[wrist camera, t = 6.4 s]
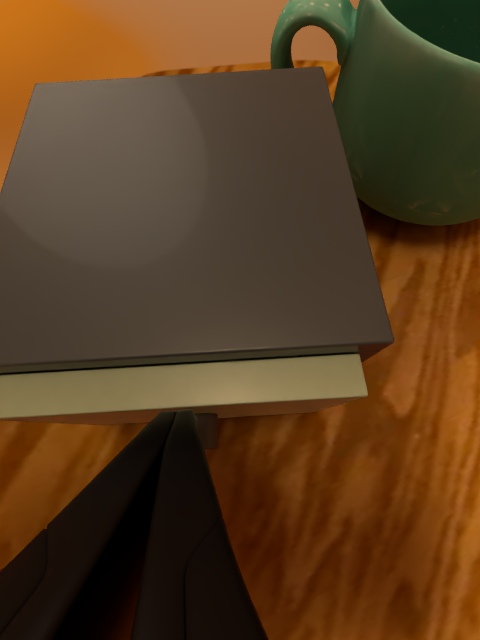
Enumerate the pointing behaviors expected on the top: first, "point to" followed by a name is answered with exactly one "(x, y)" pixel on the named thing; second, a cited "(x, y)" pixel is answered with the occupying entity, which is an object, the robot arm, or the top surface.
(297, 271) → the cabinet
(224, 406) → the drawer
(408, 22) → the mug
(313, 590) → the top surface
